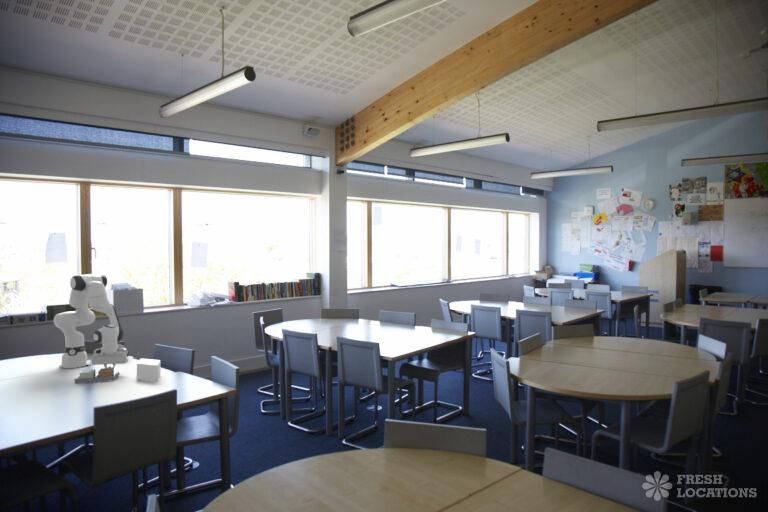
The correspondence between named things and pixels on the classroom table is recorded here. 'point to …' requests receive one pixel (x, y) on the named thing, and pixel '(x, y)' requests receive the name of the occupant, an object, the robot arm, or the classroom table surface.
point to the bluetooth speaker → (123, 348)
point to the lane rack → (96, 379)
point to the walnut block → (106, 372)
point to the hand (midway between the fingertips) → (109, 370)
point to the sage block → (87, 374)
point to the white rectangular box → (148, 369)
